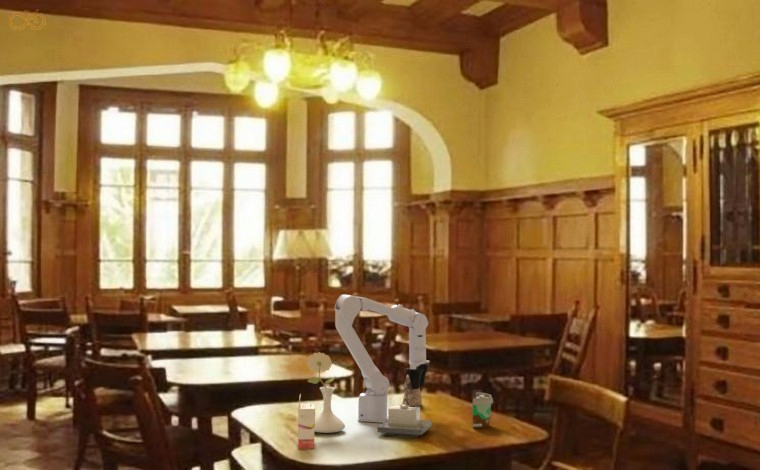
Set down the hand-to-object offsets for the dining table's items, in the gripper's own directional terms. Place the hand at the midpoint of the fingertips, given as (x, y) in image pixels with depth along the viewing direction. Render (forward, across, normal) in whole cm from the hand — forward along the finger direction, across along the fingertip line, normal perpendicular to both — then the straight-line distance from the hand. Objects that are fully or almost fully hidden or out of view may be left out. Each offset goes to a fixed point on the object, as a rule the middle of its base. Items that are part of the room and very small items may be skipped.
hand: (418, 387), depth 290 cm
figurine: (+11, +22, +8) cm, 25 cm away
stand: (+10, -24, -2) cm, 26 cm away
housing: (+7, -24, -1) cm, 25 cm away
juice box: (+10, -48, +22) cm, 54 cm away
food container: (+11, -6, -24) cm, 27 cm away
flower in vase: (+10, -29, +24) cm, 39 cm away
